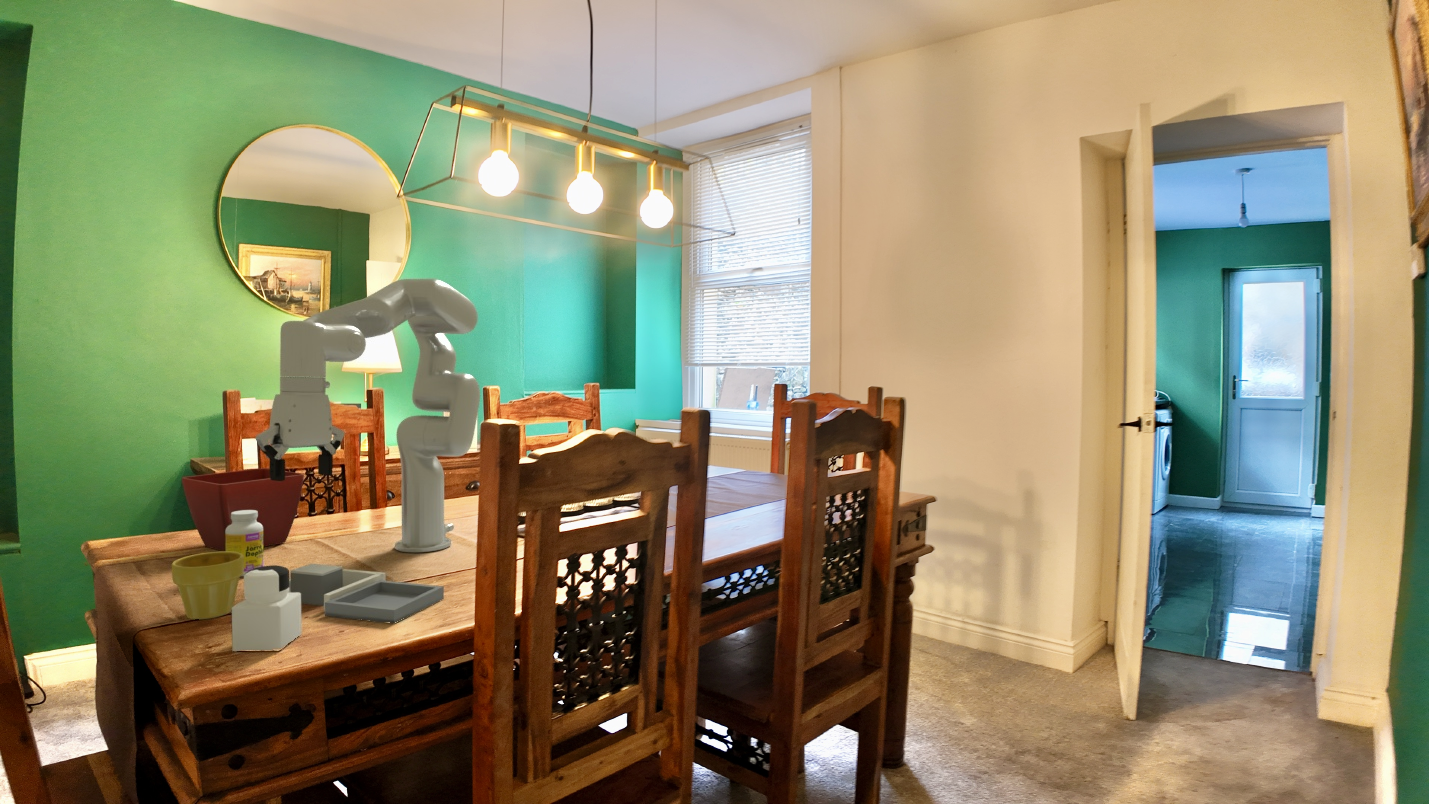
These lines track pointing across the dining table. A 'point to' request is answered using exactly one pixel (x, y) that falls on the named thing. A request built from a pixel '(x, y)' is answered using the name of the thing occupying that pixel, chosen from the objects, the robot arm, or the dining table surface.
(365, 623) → the dining table surface
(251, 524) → the supplement bottle
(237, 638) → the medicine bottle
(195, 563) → the plant pot
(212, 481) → the plant pot
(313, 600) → the gray block
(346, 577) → the bay
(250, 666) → the dining table surface
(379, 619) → the tray
